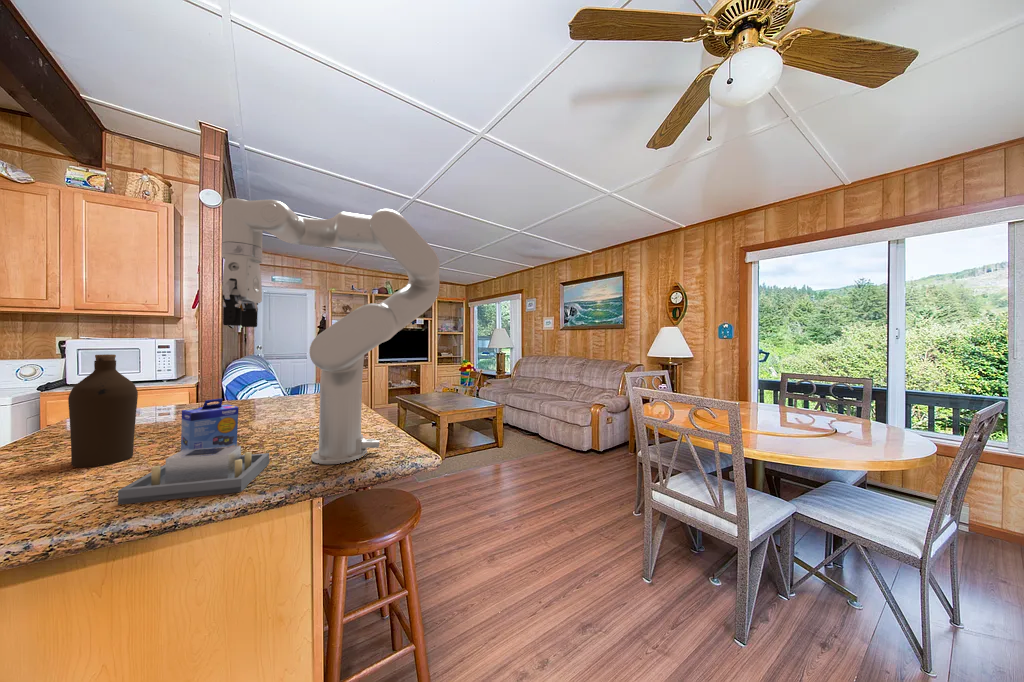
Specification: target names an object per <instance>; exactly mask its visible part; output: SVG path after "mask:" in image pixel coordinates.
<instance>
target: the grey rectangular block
mask: <svg viewBox="0 0 1024 682" xmlns="http://www.w3.org/2000/svg"><path fill="white" fill-rule="evenodd" d="M241 455H242V446H241V445H237V446H230V447H214V448H199V449H184V450H182V451H181V450H180V451H178V452H176V453H174V454H172V455H170V456H168V457H167V458H165V464H166V468H165V484H173V483H184V482H195V481H206V480H216V479H227V478H230V477H231V476H232V475H233V474H235V460H238V459H241Z"/></svg>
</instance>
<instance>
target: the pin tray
mask: <svg viewBox="0 0 1024 682" xmlns="http://www.w3.org/2000/svg"><path fill="white" fill-rule="evenodd" d="M269 464H270V452H268V453H267V452H266V453H254V454H253V453H252V451H246V452H244V454H241V459H238V460H235V474H233V475H232V476H231V477H230V478H227V479H216V480H206V481H195V482H184V483H173V484H165V468H166V463H165V464H164V465H162V466H161V465H154V466H152V467H151V472H149V473H148V474H145V475H143V476H142V477H140V478H138V479H136V480H135V481H133V482H130V483H129V484H127V485H126V486H123V487H122V488H120V489H118V490H117V506H118V505H120V504H121V505H127V504H128V505H129V504H139V503H148V502H156V501H157V502H158V501H168V500H176V499H187V498H195V497H198V498H199V497H203V496H204V497H205V496H215V495H226V494H236V493H242V492H243V491H244V490H245V489H246V488H247V487H248V486H249V485H250V484H249V483H250V482H251V481H252V480H253V481H254V480H255V479H256V478H257V477H258V475H259V474H261V472H263V470H264V469H266V467H268V465H269ZM253 481H252V482H253ZM252 482H251V483H252ZM248 484H249V485H248ZM247 485H248V486H247Z"/></svg>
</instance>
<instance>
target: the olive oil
mask: <svg viewBox="0 0 1024 682" xmlns="http://www.w3.org/2000/svg"><path fill="white" fill-rule="evenodd" d="M94 357H95V360H94V361H93V362H94V363H93V365H94V370H93V372H91V373H90V374H89V375H87V376H86V377H85V378H83V379H82V380H80V381H79V382H78V383H76V384H75V385H74V386H73V387H72V388H71V390H70V393H69V394H68V397H67V398H68V399H67V401H68V402H67V403H68V414H69V415H68V417H69V429H70V430H69V433H70V455H71V456H70V458H71V462H70V463H71V467H75V468H91V467H99V466H100V467H101V466H105V465H110V464H115V463H120V462H122V461H126V460H129V459H130V458H132V457H133V456H134V446H135V445H134V444H135V428H136V417H137V408H138V407H137V406H138V400H139V399H138V397H139V392H138V388H137V387H136V385H135V383H134V382H133V381H131V380H130V379H129V378H127V377H126V376H125V375H123V374H122V373H120V372H119V371H118V370H117V360H116V357H117V356H116V354H109V353H108V354H105V353H104V354H95V356H94Z"/></svg>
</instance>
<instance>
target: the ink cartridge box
mask: <svg viewBox="0 0 1024 682" xmlns="http://www.w3.org/2000/svg"><path fill="white" fill-rule="evenodd" d="M204 400H205V399H204ZM223 400H224V399H223V398H221V397H220V398H215V399H214V398H213V399H206V400H205V401H204V402H203V404H202V406H201V407H197V408H196V407H195V408H189V409H182V410H181V429H180V430H181V434H180V435H181V436H180V451H182V450H184V449H199V448H214V447H230V446H238V427H239V426H238V425H239V424H238V423H239V407H238V406H236V405H232V404H223ZM214 402H216V403H214ZM211 403H212V404H211Z"/></svg>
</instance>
